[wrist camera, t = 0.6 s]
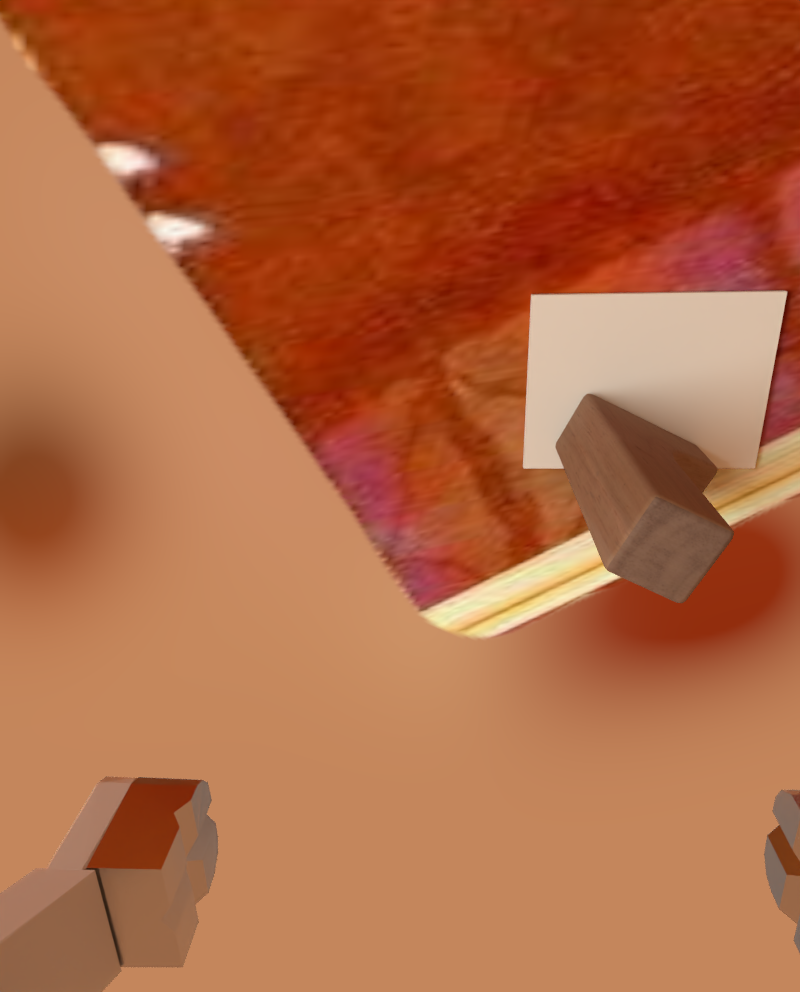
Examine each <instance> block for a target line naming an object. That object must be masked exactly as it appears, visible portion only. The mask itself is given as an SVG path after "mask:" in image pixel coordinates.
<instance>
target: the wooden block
mask: <svg viewBox="0 0 800 992" xmlns="http://www.w3.org/2000/svg"><path fill="white" fill-rule="evenodd" d="M555 448H556V450H557V453H558V455H559V457H560V460H561V462H562V465H563V467H564V470H565V472H566V474H567V477H568V479H569V482H570V484H571V487H572V489H573V492H574V494H575V496H576V499H577V501H578V504H579V506H580V509H581V511H582V513H583V516H584V518H585V521H586V523H587V526H588V528H589V530H590V533H591V535H592V538H593V540H594V543H595V545H596V547H597V550H598V552H599V555H600V557H601V560H602V562H603V564H604V567H605V568H606V569H607V570H608V571H609V572H612V573H614V574H616V575H618V576H620V577H622V578H625V579H627V580H629V581H631V582H633V583H636V584H638V585H640V586H642V587H644V588H647V589H649V590H651V591H653V592H655V593H657V594H659V595H662V596H664V597H666V598H668V599H670V600H672V601H675V602H677V603H683V602H684V601H686V600H687V599H688V597H689V596H690V594H691V593H692V592H693V590H694V589H695V588H696V586H697V585H698V584H699V583H700V581H701V580H702V579H703V577H704V576H705V575H706V573H707V572H708V571H709V569H710V568H711V567H712V565H713V564H714V563H715V561H716V560H717V559H718V557H719V556H720V555H721V553H722V552H723V551H724V549H725V548H726V547H727V545H728V544H729V543H730V541H731V540H732V538H733V535H734V531H733V530H732V529H731V528H730V526H729V525H728V524H727V523H726V521H725V520H724V519H723V518H722V517H721V515H720V514H719V513H718V512H717V511H716V509H715V508H714V507H713V506H712V504H711V503H710V502H709V501H708V500H707V498H706V497H705V496H704V495H703V494H702V492H703V491H704V490H705V488H706V487H707V485H708V484H709V482H710V481H711V480H712V478H713V477H714V475H715V474H716V472H717V467H716V466H715V464H714V463H713V462H712V461H711V460H710V459H709V458H708V457H707V456H706V455H705V454H704V453H703V452H702V451H701V450H700V449H699V448H698V447H697V446H696V445H695V444H693V443H691V442H689V441H687V440H685V439H683V438H681V437H679V436H677V435H674V434H672V433H670V432H668V431H666V430H664V429H662V428H660V427H658V426H656V425H654V424H652V423H650V422H648V421H646V420H644V419H642V418H640V417H638V416H636V415H634V414H632V413H630V412H628V411H626V410H624V409H622V408H620V407H618V406H616V405H613V404H611V403H609V402H607V401H605V400H603V399H601V398H599V397H597V396H595V395H593V394H586V395H585V396H584V397H583V399H582V400H581V402H580V404H579V405H578V407H577V409H576V410H575V412H574V414H573V415H572V417H571V419H570V420H569V422H568V424H567V425H566V427H565V429H564V430H563V432H562V434H561V435H560V437H559V439H558V440H557V442H556V446H555Z"/></svg>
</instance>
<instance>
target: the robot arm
mask: <svg viewBox="0 0 800 992" xmlns="http://www.w3.org/2000/svg"><path fill="white" fill-rule="evenodd" d="M210 803H211V795H210V790H209V785H208V783H207V782H205V781H204V780H191V779H168V778H145V777H144V778H143V777H139V778H127V777H105V778H104V779H102V780H101V781H100V782H99V783H97V785H96V786H95V788H94V789H93V791H92V793H91V794H90V796H89V798H88V799H87V801H86V803H85V804H84V806H83V808H82V809H81V811H80V813H79V815H78V816H77V818H76V819H75V821H74V823H73V824H72V826H71V828H70V829H69V831H68V833H67V834H66V836H65V838H64V840H63V841H62V843H61V844H60V846H59V848H58V849H57V851H56V853H55V854H54V856H53V858H52V860H51V861H50V863H49V865H48V866H47V868H45V869H43V868H42V869H41V868H36V869H34V870H33V871H32V872H30V873H29V874H27V875H26V876H24V877H23V878H22V879H20V880H19V881H17V882H16V883H14V884H13V885H12V886H10V887H9V888H7V889H6V890H4V891H3V892H2V893H0V992H102V991H103V990H104V989H105V988H106V987H107V986H108V985H109V984H110V983H111V982H112V980H114V978H115V977H116V976H117V975H118V974H119V973H120V972H121V967H183V965H184V962H185V959H186V956H187V953H188V950H189V948H190V945H191V942H192V939H193V936H194V933H195V930H196V927H197V924H198V916H197V911H196V906H195V904H196V903H197V902H199V901H200V900H201V899H202V898H203V897H204V896H205V895H206V894H207V893H208V892H209V889H210V886H211V883H212V880H213V877H214V873H215V867H216V860H217V855H218V836H217V828H216V823H215V822H214V821H213V820H212V819H211V818H210V817H209V816H208V815H207V811H208V808H209V806H210ZM773 813H774V815H775V817H776V819H777V821H778V823H779V826H778V827H776V828H775V829H774V830H773V831H772V832H771V833H770V834H768V835H767V840H766V847H765V853H764V856H765V867H766V875H767V879H768V882H769V886H770V889H771V892H772V894H773V897H774V899H775V901H776V903H777V905H778V908H779V909H780V910H781V911H782V912H783V913H785V914H786V915H787V916H788V917H790V918H791V919H792V920H793V921H794V922H795V923H797V928H796V933H795V937H794V942H795V944H796V946H797V948H798V950H799V953H800V790H781V791H780V792H779V793H778V795H777V796H776V798H775V802H774V807H773Z"/></svg>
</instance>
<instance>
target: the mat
mask: <svg viewBox="0 0 800 992" xmlns="http://www.w3.org/2000/svg"><path fill="white" fill-rule="evenodd" d="M786 297H787V291H784V290H777V291H709V292H642V293H574V294H531V308H530V329H529V350H528V371H527V393H526V414H525V435H524V456H523V468H564V467H563V465H562V462H561V460H560V457H559V455H558V453H557V450H556V448H555V446H556V442H557V440H558V439H559V437H560V435H561V434H562V432H563V430H564V429H565V427H566V425H567V424H568V422H569V420H570V419H571V417H572V415H573V414H574V412H575V410H576V409H577V407H578V405H579V404H580V402H581V400H582V399H583V397H584V396H585V395H586V394H593V395H595V396H597V397H599V398H601V399H603V400H605V401H607V402H609V403H611V404H613V405H616V406H618V407H620V408H622V409H624V410H626V411H628V412H630V413H632V414H634V415H636V416H638V417H640V418H642V419H644V420H646V421H648V422H650V423H652V424H654V425H656V426H658V427H660V428H662V429H664V430H666V431H668V432H670V433H672V434H674V435H677V436H679V437H681V438H683V439H685V440H687V441H689V442H691V443H693V444H695V445H696V446H697V447H698V448H699V449H700V450H701V451H702V452H703V453H704V454H705V455H706V456H707V457H708V458H709V459H710V460H711V461H712V462H713V463H714V464H715V466H716V467H717V469H755V466H756V461H757V455H758V450H759V444H760V439H761V433H762V428H763V423H764V417H765V412H766V406H767V401H768V395H769V390H770V384H771V379H772V373H773V368H774V362H775V357H776V351H777V346H778V340H779V335H780V329H781V324H782V319H783V313H784V308H785V302H786Z"/></svg>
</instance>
